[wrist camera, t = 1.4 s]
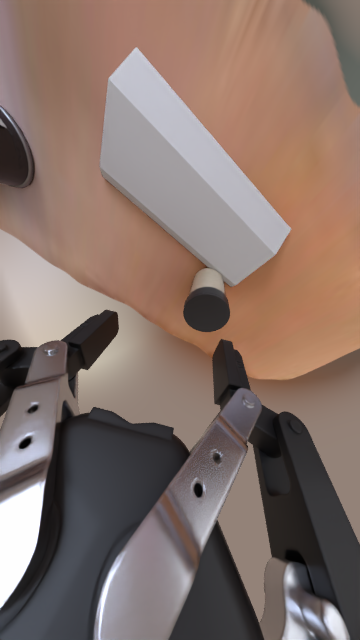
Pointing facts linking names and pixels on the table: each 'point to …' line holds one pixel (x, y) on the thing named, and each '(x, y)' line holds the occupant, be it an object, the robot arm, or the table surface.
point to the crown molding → (184, 174)
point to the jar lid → (206, 309)
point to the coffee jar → (208, 280)
